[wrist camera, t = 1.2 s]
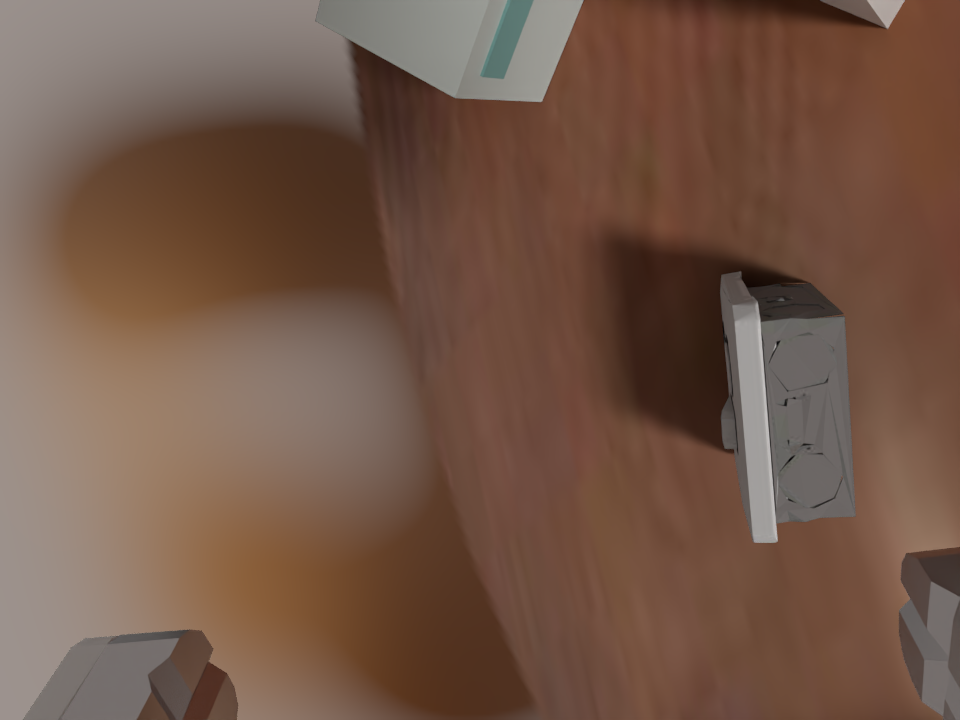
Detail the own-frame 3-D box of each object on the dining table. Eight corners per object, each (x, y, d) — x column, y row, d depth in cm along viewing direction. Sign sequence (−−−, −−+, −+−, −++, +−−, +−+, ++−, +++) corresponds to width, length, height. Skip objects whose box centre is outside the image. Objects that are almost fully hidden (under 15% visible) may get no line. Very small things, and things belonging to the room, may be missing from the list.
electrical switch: (721, 269, 35) (683, 309, 27) (844, 258, 33) (842, 297, 25) (738, 458, 37) (706, 548, 29) (855, 460, 35) (856, 557, 27)
